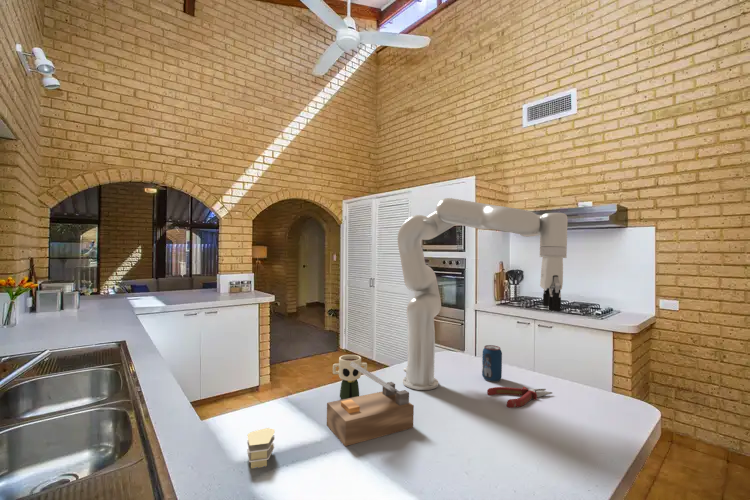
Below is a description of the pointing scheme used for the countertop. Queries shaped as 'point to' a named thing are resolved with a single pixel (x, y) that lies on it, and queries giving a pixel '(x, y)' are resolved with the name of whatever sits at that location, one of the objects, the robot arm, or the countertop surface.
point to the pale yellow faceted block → (260, 446)
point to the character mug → (349, 375)
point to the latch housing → (370, 415)
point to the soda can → (492, 363)
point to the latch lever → (373, 377)
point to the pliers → (524, 392)
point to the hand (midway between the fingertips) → (551, 308)
